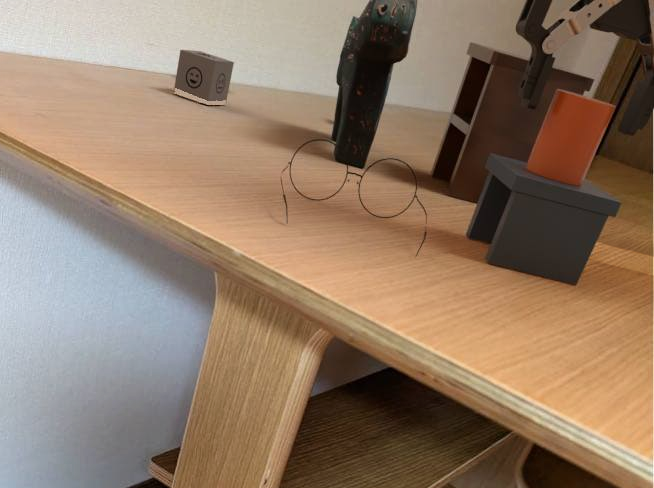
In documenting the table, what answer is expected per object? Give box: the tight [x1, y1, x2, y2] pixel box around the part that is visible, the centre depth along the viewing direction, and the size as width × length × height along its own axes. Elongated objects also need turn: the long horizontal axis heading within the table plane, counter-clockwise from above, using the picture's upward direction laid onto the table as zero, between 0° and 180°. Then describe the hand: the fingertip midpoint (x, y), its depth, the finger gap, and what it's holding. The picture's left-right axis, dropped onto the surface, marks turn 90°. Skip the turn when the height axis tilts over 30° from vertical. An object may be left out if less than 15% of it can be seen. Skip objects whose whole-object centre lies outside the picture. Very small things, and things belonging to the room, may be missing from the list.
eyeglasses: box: [280, 138, 428, 258], centre depth 67 cm, size 11×13×5 cm
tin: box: [525, 89, 617, 186], centre depth 67 cm, size 5×5×6 cm
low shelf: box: [465, 153, 623, 286], centre depth 70 cm, size 9×9×7 cm
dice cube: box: [173, 49, 235, 102], centre depth 103 cm, size 5×5×5 cm
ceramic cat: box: [330, 0, 418, 169], centre depth 92 cm, size 20×6×20 cm, turn 176°
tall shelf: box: [429, 41, 595, 204], centre depth 91 cm, size 11×11×14 cm
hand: (577, 120), depth 66 cm, fingers open, 8 cm apart
